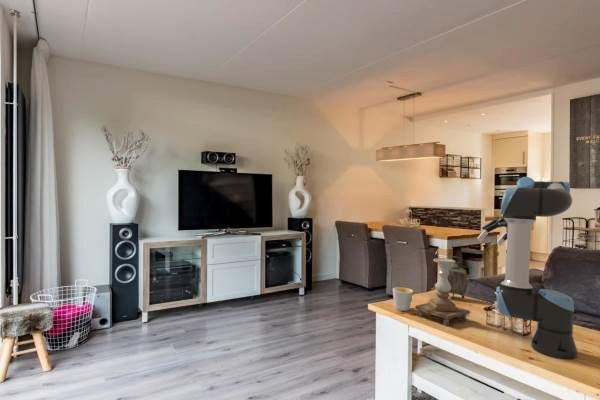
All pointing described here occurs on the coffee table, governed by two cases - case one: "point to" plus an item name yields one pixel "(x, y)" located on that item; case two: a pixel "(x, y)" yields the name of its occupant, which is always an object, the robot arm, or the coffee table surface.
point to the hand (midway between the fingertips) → (488, 241)
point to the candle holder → (443, 288)
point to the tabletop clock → (457, 279)
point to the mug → (402, 298)
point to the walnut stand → (442, 313)
